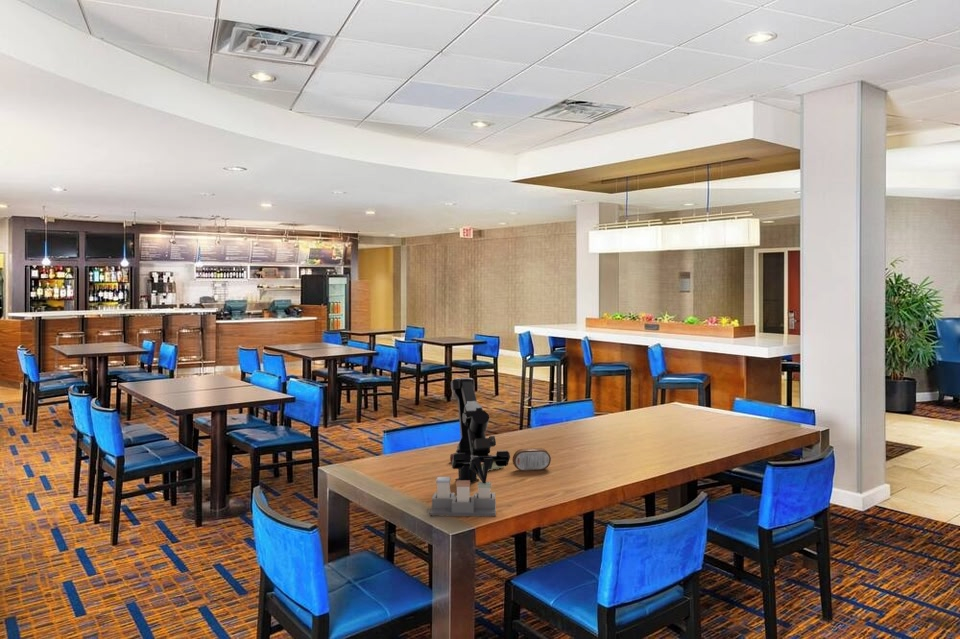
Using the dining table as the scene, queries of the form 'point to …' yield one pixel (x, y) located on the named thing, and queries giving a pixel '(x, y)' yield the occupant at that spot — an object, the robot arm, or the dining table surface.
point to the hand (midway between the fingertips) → (484, 482)
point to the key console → (463, 506)
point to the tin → (531, 459)
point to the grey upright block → (443, 487)
